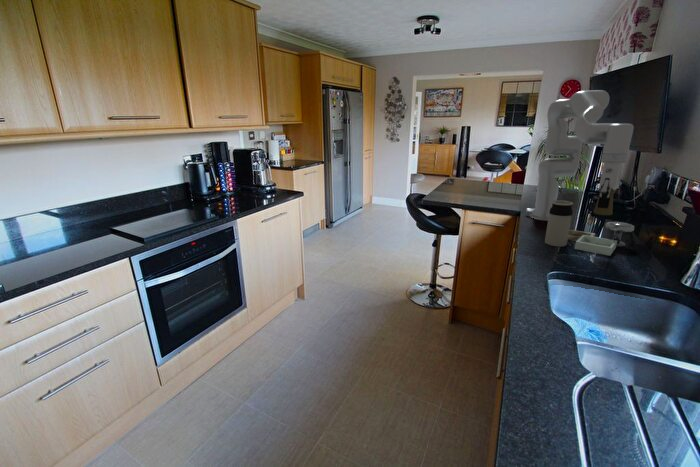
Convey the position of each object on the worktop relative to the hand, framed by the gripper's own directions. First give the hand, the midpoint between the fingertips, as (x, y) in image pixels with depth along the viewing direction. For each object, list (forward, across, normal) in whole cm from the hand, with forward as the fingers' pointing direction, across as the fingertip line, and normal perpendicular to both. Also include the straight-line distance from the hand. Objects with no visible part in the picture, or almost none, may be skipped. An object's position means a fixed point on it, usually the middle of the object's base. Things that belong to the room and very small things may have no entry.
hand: (603, 206), depth 127 cm
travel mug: (+18, -4, +13) cm, 22 cm away
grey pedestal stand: (+17, +11, -5) cm, 21 cm away
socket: (+17, +10, +8) cm, 22 cm away
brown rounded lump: (+3, 0, 0) cm, 3 cm away
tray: (+17, 0, 0) cm, 17 cm away
